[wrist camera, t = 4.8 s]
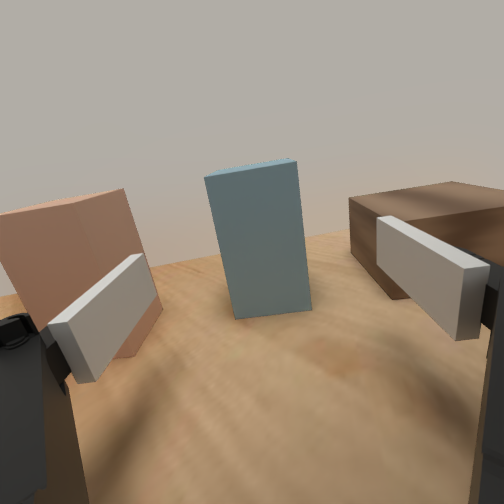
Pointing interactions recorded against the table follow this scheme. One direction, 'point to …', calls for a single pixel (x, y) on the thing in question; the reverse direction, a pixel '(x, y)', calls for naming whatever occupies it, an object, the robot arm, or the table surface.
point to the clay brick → (71, 255)
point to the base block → (430, 222)
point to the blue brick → (261, 237)
